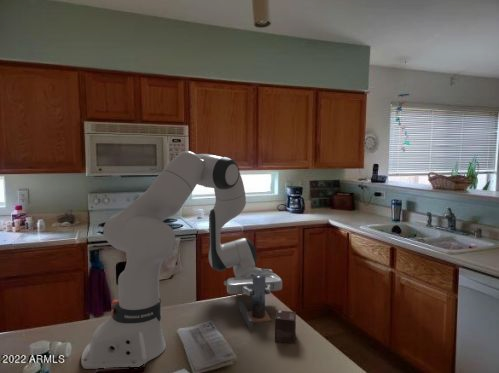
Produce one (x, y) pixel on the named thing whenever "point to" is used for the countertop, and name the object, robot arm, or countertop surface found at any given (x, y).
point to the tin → (258, 296)
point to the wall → (246, 315)
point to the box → (285, 326)
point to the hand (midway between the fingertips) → (259, 292)
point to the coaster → (260, 318)
